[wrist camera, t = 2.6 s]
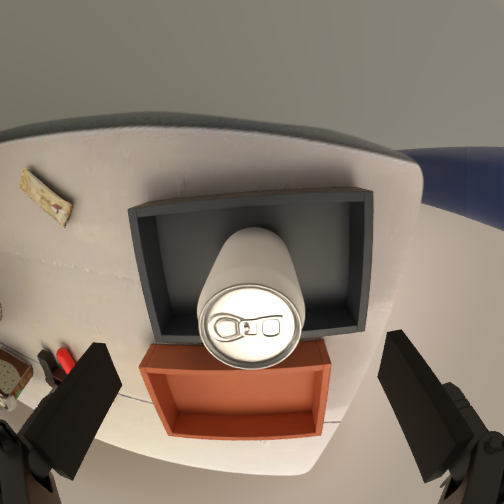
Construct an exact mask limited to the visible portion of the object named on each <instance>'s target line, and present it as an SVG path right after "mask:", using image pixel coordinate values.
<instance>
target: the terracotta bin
mask: <svg viewBox="0 0 504 504" xmlns="http://www.w3.org/2000/svg"><path fill="white" fill-rule="evenodd" d="M139 369H140V372H141V375H142V377H143V380H144V382H145V385H146V387H147V390H148V392H149V394H150V397H151V399H152V401H153V404H154V406H155V408H156V410H157V413H158V415H159V417H160V419H161V421H162V424H163V426H164V428H165V430H166V432H167V434H168V436H175V437H184V438H195V439H210V440H276V439H291V438H303V437H312V436H320V435H321V434H322V428H323V422H324V415H325V409H326V402H327V395H328V387H329V379H330V370H331V361H330V358H329V355H328V352H327V349H326V346H325V343H324V340H313V341H302V342H299V343H298V345H297V347H296V348H295V350H294V351H293V352H292V353H291V354H290V355H289V356H288V357H287V358H286V359H284V360H283V361H282V362H280V363H278V364H276V365H274V366H271V367H268V368H264V369H258V370H245V369H239V368H235V367H231V366H229V365H226V364H224V363H222V362H221V361H219V360H218V359H216V358H215V357H214V356H213V355H212V354H211V353H210V352H209V351H208V350H207V349H206V347H205V346H185V345H152V344H151V345H150V347H149V349H148V351H147V353H146V354H145V356H144V358H143V360H142V362H141V363H140V365H139Z"/></svg>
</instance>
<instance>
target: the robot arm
mask: <svg viewBox="0 0 504 504" xmlns="http://www.w3.org/2000/svg"><path fill="white" fill-rule="evenodd" d="M377 377H378V379H379V381H380V383H381V385H382V387H383V389H384V391H385V393H386V395H387V398H388V400H389V402H390V404H391V406H392V408H393V410H394V413H395V415H396V417H397V419H398V421H399V424H400V426H401V428H402V430H403V433H404V435H405V437H406V440H407V442H408V444H409V446H410V449H411V451H412V453H413V456H414V458H415V461H416V463H417V465H418V468H419V471H420V473H421V476H422V478H423V481H424V483H427V482H430V481H432V480H434V479H437V478H439V477H441V476H442V475H443V474H444V473H445V472H446V471H447V470H448V469H449V471H450V475H449V477H447V478H446V480H445V481H444V482H443V483H442V484H441V486H440V487H441V488H442V487H443V486H444V485H445V484H446V485H445V488H444V490H443V493H442V495H441V498H440V500H439V502H438V504H504V436H503V435H502V434H501V433H499V432H496V431H490V432H489V430H488V429H487V428H486V427H485V425H484V423H483V422H482V420H481V419H480V417H479V416H478V414H477V413H476V411H475V410H474V409H473V407H472V406H470V403H469V401H468V400H467V399H465V396H464V394H463V393H462V391H461V390H460V389H459V388H458V387H457V386H455V385H454V384H452V383H451V382H448V383H445V384H441V383H440V381H439V380H438V378H437V377H436V375H435V374H434V373H433V372H432V370H431V368H430V367H429V366H428V364H427V363H426V361H425V360H424V359H423V357H422V356H421V355H420V353H419V352H418V351H417V349H416V348H415V347H414V345H413V344H412V343H411V341H410V340H409V339H408V337H407V336H406V335H405V333H404V332H403V331H402V330H395V331H390V332H387V335H386V340H385V345H384V350H383V355H382V359H381V364H380V369H379V373H378V376H377ZM121 387H122V383H121V381H120V378H119V376H118V374H117V371H116V369H115V367H114V364H113V362H112V359H111V357H110V354H109V352H108V349H107V347H106V344H105V343H95V342H93V343H92V345H91V346H90V347H89V348H88V349H87V351H86V352H85V353H84V354H83V356H82V357H81V358H80V359H79V360H78V362H77V363H76V364H75V365H74V367H73V368H72V369H71V371H70V372H69V373H68V374H67V376H66V377H65V378H64V380H63V381H62V382H61V383H60V385H59V386H58V387H57V389H56V390H55V391H54V393H52V392H51V393H50V394H48V395H47V396H46V397H44V398H43V399H42V400H41V402H40V403H39V404H38V407H36V409H35V410H34V411H33V413H32V414H31V415H30V417H29V418H28V419H27V421H26V422H25V424H24V425H23V427H22V428H21V429H20V431H19V432H18V433H17V435H16V433H15V432H14V431H13V430H12V428H11V427H10V426H9V425H8V423H7V422H6V421H4V420H0V504H61V501H60V497H59V494H58V491H57V487H56V484H55V480H54V477H53V474H52V473H51V472H50V471H51V469H52V468H53V469H54V470H55V471H56V472H57V473H58V474H59V475H61V476H63V477H65V478H68V479H70V480H72V481H73V480H74V477H75V475H76V473H77V471H78V469H79V467H80V465H81V463H82V461H83V459H84V457H85V455H86V453H87V451H88V449H89V447H90V444H91V443H92V441H93V439H94V437H95V435H96V433H97V431H98V429H99V427H100V425H101V424H102V422H103V420H104V418H105V416H106V414H107V412H108V410H109V408H110V407H111V405H112V403H113V401H114V399H115V397H116V396H117V394H118V392H119V390H120V388H121Z"/></svg>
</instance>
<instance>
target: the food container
mask: <svg viewBox="0 0 504 504" xmlns="http://www.w3.org/2000/svg"><path fill="white" fill-rule="evenodd" d="M32 376H33V368H32V365H31V364H29V363H27V362H25V361H23V360H22V359H20V358H18V357H16V356H15V355H13V354H11V353H10V352H8V351H6V350H5V349H3V348H2V347H1V348H0V410H2V411H3V412H8V411H11V410H13V409H14V408H15V407H16V406H17V403H16V400H17V398H18V396H19V395H20V393H21V392H22V390H23V389H24V387H25V386H26V385H27V383H28V382H29V380H30V379H31V377H32Z"/></svg>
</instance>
